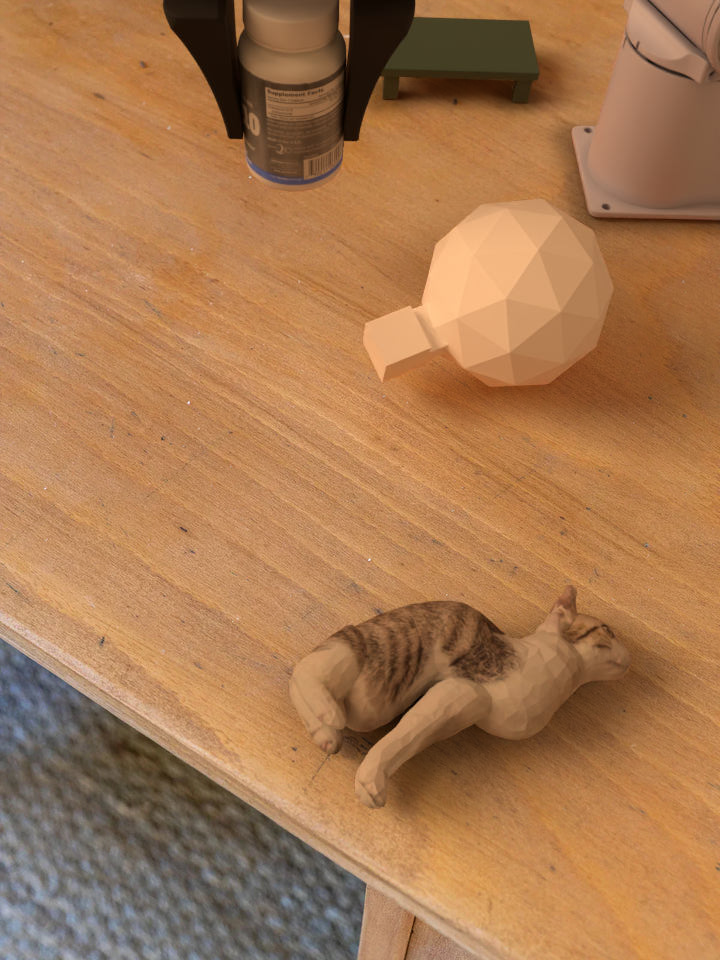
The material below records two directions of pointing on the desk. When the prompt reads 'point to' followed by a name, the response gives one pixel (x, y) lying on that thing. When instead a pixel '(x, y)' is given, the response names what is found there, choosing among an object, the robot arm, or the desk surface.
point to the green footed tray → (465, 53)
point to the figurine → (446, 679)
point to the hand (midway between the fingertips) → (292, 126)
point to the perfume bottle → (502, 299)
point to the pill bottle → (292, 91)
